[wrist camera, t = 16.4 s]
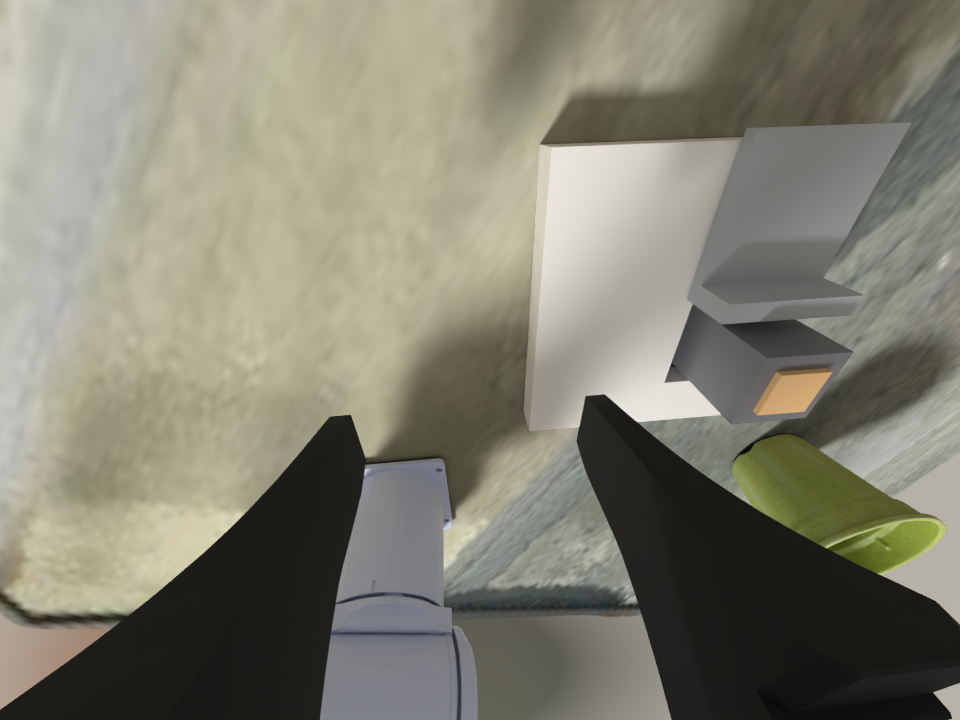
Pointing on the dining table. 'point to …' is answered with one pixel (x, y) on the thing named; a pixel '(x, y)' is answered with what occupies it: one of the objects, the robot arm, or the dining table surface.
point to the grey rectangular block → (758, 366)
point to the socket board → (618, 274)
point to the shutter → (790, 221)
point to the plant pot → (833, 504)
